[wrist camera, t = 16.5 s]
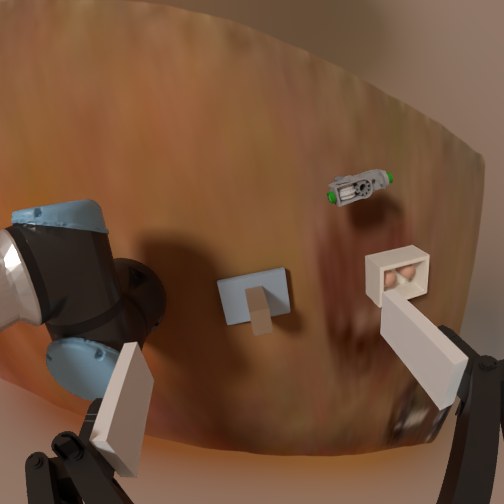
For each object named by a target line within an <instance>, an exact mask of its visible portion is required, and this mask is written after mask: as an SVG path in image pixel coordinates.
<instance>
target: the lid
mask: <svg viewBox="0 0 504 504" xmlns="http://www.w3.org/2000/svg"><path fill="white" fill-rule="evenodd" d="M217 284H218V289H219V293H220V297H221V301H222V305H223V310H224V314H225V318H226V322H227V325H232V324H237V323H242V322H247V321H251V324H252V329H253V333H254V336H257V335H262V334H267V333H272V332H273V328H272V322H271V317H272V316H277V315H281V314H286V313H290V304H289V297H288V289H287V282H286V274H285V269H284V267H282V268H277V269H272V270H268V271H263V272H258V273H253V274H247V275H242V276H237V277H232V278H227V279H222V280H217Z"/></svg>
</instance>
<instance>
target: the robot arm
mask: <svg viewBox="0 0 504 504" xmlns="http://www.w3.org/2000/svg"><path fill="white" fill-rule="evenodd" d="M11 222H12V224H13V225H12V226H10V227H7V228H5V229H2V230H0V332H2V331H4V330H5V329H7V328H9V327H10V326H12V325H14V324H16V323H18V322H19V321H22V322H25V323H27V324H30V325H33V326H35V327H38V326H40V325H42V324H43V323H45V325H46V327H47V329H48V332H49V334H50V337H51V339H52V342H51V343H50V345H49V346H48V348H47V354H46V364H47V367H48V370H49V372H50V373H51V375H52V376H53V378H54V379H55V380H56V381H57V382H58V383H59V384H60V385H61V386H62V387H63V388H64V389H66V390H67V391H69V392H70V393H73V394H75V395H77V396H78V397H80V398H83V399H86V400H90V401H93V402H92V404H91V405H90V406H89V409H88V412H87V415H86V417H85V420H84V421H85V422H83V425H82V428H81V431H80V434H79V436H77V435H76V434H75V433H73V432H71V431H65V432H62V433H60V434H58V435H57V436H56V437H55V438H54V439H53V441H52V445H51V447H52V450H53V451H54V452H55V454H56V455H57V456H58V457H54V458H48V457H47V456H46V455H45V454H44V453H42V452H35V453H33V454H31V455H30V456H29V457H28V458H27V460H26V464H25V472H26V486H27V496H28V504H83V501H84V502H85V504H134V503H133V502H132V501H131V500H130V498H129V497H128V496H127V494H126V493H125V492H124V490H123V489H122V488H121V486H120V485H119V483H118V482H117V481H116V480H115V479H114V478H113V476H114V471H116V472H117V473H118V474H119V475H120V477H137V471H138V465H139V459H140V452H141V447H142V441H143V435H144V430H145V424H146V419H147V414H148V409H149V404H150V399H151V394H152V389H153V384H154V379H153V377H152V374H151V372H150V370H149V368H148V366H147V363H146V361H145V359H144V357H143V354H142V352H141V351H142V348H143V345H144V341H145V338H146V337H147V336H148V335H149V334H150V333H151V332H153V331H154V330H155V329H156V328H157V326H158V325H159V324H160V322H161V320H162V318H163V315H164V311H165V307H166V295H165V291H164V288H163V286H162V284H161V282H160V280H159V279H158V277H157V276H156V275H155V274H154V273H153V272H152V271H151V270H150V269H149V268H148V267H146V266H145V265H143V264H142V263H140V262H137V261H135V260H131V259H126V258H116V259H113V256H112V252H111V247H110V243H109V239H108V235H107V234H109V231H108V230H107V229H106V226H105V222H104V218H103V214H102V210H101V207H100V206H99V204H98V203H97V202H95V201H93V200H90V199H85V200H77V201H69V202H63V203H56V204H50V205H44V206H38V207H32V208H27V209H22V210H17V211H14V212H13V213H12V219H11ZM380 334H381V335H382V336H383V337H384V339H385V340H386V341H387V342H388V344H389V345H390V346H391V347H392V349H393V350H394V351H395V352H396V354H397V355H398V356H399V357H400V359H401V360H402V361H403V362H404V364H405V365H406V366H407V368H408V369H409V370H410V371H411V373H412V374H413V375H414V377H415V378H416V379H417V380H418V382H419V383H420V384H421V386H422V387H423V388H424V390H425V391H426V392H427V394H428V395H429V396H430V398H431V399H432V400H433V402H434V403H435V404H436V406H437V407H438V408H439V410H442V409H444V408H446V407H448V406H450V405H452V404H453V403H454V400H455V398H456V395H457V396H458V397H459V398H460V399H461V401H460V403H459V406H458V408H457V411H456V413H455V415H457V414H458V415H457V422H456V427H455V432H454V438H453V443H452V448H451V452H450V457H449V461H448V465H447V469H446V473H445V477H444V480H443V484H442V487H441V491H440V494H439V497H438V500H437V503H436V504H489V503H490V498H491V494H492V489H493V482H494V477H495V470H496V463H497V454H498V444H499V431H500V424H501V428H502V433H503V439H504V359H503V360H499V361H497V360H496V359H495V358H493V357H491V356H487V355H484V356H480V355H478V354H477V353H476V352H475V351H474V350H473V349H472V348H471V347H470V346H469V345H468V344H467V343H466V342H465V341H463V340H462V339H461V338H460V337H459V336H457V334H456V333H455V332H454V331H453V330H452V329H450V328H448V327H446V326H443V325H441V326H438V327H436V326H435V325H434V324H433V323H431V322H430V321H429V320H428V319H427V318H426V317H425V316H424V315H423V314H422V313H421V312H420V311H418V310H417V309H416V308H415V307H414V306H413V305H412V304H411V303H410V302H409V301H407V300H406V299H405V298H404V297H403V296H402V295H401V294H400V293H398V292H397V291H396V290H395V289H391V290H388V291H384V292H382V313H381V332H380ZM82 499H83V501H82Z"/></svg>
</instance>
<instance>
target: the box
mask: <svg viewBox="0 0 504 504" xmlns="http://www.w3.org/2000/svg"><path fill="white" fill-rule="evenodd" d="M365 265H366V294H367V295H368V296H369V297H370V298H371V299H372V300H373V302H374V303H375V304H376V305H377V306H378V307H379V308H380V307H382V292H384V291H388V290H391V289H395V290H396V291H397V292H398V293H400V294H401V295H402V296H403V297H404V298H405V299H406V300H407V299H410V298H413V297H417V296H420V295H423V294H426V293H427V285H428V272H429V254H427V253H425V252H424V251H422V250H420V249H418V248H417V247H415V246H413V245H411V246H406V247H402V248H398V249H393V250H389V251H385V252H380V253H376V254H372V255H367V256H365Z"/></svg>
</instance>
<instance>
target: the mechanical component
mask: <svg viewBox="0 0 504 504" xmlns="http://www.w3.org/2000/svg"><path fill="white" fill-rule="evenodd" d="M392 182H393V178H392V175H391V174H390V173H386V172H385V171H383V170H378V169H376V170H370V171H367V172H364V173H361V174H357V175H354V176H351V175H348V176H346V177H342V176H336V177H335V182H333V183H331V184H329V188H330V191H331V192H329V193H327V197H328V200H329V202H330V203H331V204H332V203H335V205H337V206H339V207H340V206H343V205H346V204H348V203H351V202H354V201H357V200H360V199H365V198H368V197H369V196H371V194H372V192H373V191H375V190H378V189H381V188H383V189H385V188H388V187H389V183H392Z"/></svg>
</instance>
